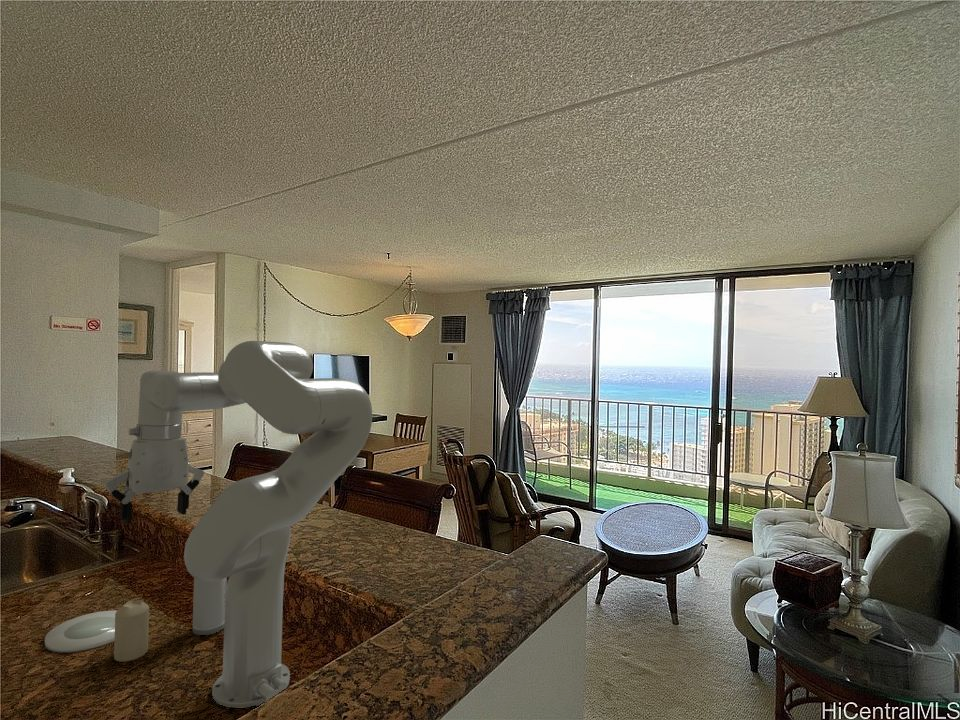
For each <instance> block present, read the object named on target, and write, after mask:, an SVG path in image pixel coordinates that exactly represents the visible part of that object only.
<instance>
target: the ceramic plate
mask: <svg viewBox="0 0 960 720" xmlns="http://www.w3.org/2000/svg"><path fill="white" fill-rule="evenodd" d="M117 611H118V610H115V609H114V610H101V611H95V612H92V613H87V614H83V615H80V616H76V617H74V618H72V619H71V618H70V619H69V620H66V621H64V622H62V623H60V624H58V625H56V626H54V627H53V628H52V629H50V630H49V631H48V632H47V633H46V635H45V637H44V646H45V648H46V649H47V650H49V651H51V652H54V653H77V652H83V651H88V650H92V649H96V648H99V647H102V646H105V645H108V644H110V643H112V642H114V637H115V613H116V612H117Z"/></svg>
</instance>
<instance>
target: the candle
mask: <svg viewBox="0 0 960 720" xmlns="http://www.w3.org/2000/svg"><path fill="white" fill-rule="evenodd" d="M116 611H117V612H116V613H115V637H114V641H113V642H114V643H113V645H114V646H113V659H114V660H115V661H116V662H120V663H121V662H123V663H125V662H130V661H134V660H138V659H139V657H140V658H141V657H143V656H145V655H146V654H147V652H148V649H149V626H150V625H149V624H150V606H149V605H148V604H146V602H144V601H142V600H140V599H136V600H128V601H127V602H126V603H125V604H123V605H122V606H121V607H120V608H119V609H118V610H116ZM145 653H146V654H145Z"/></svg>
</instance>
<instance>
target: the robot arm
mask: <svg viewBox="0 0 960 720" xmlns="http://www.w3.org/2000/svg"><path fill="white" fill-rule="evenodd" d="M313 370H314V363H313V359H312V357H311V356H310V353H308V351H307V350H306V349H305V348H303V347H302V346H299V345H298V344H294V343H292V342H284V341H283V342H281V341H279V342H278V341H266V340H247V341H243V342H240V343H238V344H236V345H235V346H233V348H231V350H229V352H228V353H227V355H226V357H225V360H224V361H223V362H222V363H221V365H220V366H219V369H218V372H217V371H216V372H208V371H207V372H206V371H205V372H203V371H202V372H201V371H200V372H197V371H196V372H178V371H173V370H149V371H145V372H143V373H142V374H141V377H140V379H139V395H138V396H139V397H138V416H137V418H138V419H137V424H136V426H135V427H133V428H131V427H130V428H129V429H128V436H135V437H136V439H133V440H132V444H131V446H130V450H129V456H128V461H127V466H126V470H124V471H121V473H118V474H117V475H115V476H113V477H111V478H109V479H107V480H105V482H104V486H105V488H106V489H107V491H108V492H109V494H110V495H111V496H112V497H113V498H114V499H116V501H117V500H118V501H119V502H120V503H119V505H120V507H119V519H120V520H122V522H124V523H125V524H126V525H130V524H131V523H132V520H133V519H132V515H133V503H132V502H131V500H132V499H134V497H135V496H136V495H137V494H147V493H155V492H163V491H169V490H176V489H179V490H180V491H179V492H178V494H177V507H176V511H177V512H178V513H179V514H181V515H183V516H184V515H186V514H187V509H189V507H190V495H191V494H192V493H193V491H194V490H195V489H196V488H197V487H198V486H199V484H200V482H201V480H202V478H203V477H204V475H205V471H204V470H202V469H200V468H197V467H195V466H192V465H189V454H188V453H189V451H188V443H187V440H186V438H185V437H182V430H183V429H182V428H183V427H182V426H183V424H182V423H183V413H184V412H193V411H195V412H196V411H205V410H207V411H208V410H219V409H225V408H230V407H234V406H238V405H243V404H246V405H248V406H249V407H251V408H252V410H254V411H255V412H256V413H257V414H258V415H259V416H261V418H262V419H263V420H265V421H266V422H267V423H268V424H269V425H271V426H272V428H274V429H276V430H277V431H279V432H282V433H284V434H288V435H303V434H311V435H310V436H309V437H307V438H306V439H305V440H304V441H302V442H301V443H300V444H299V445H298V446H297V447H296V448H294V450H293V451H292V453H291V454H290V455H289V457H288V458H287V459H286V460H285V461H284V463H282V465H279V467H278V468H276V469H274V470H271V471H268V472H265V473H262V474H258V475H253V476H250V477H246V478H242V479H240V480H237V481H235V482H233V483H232V484H231V485H228V486H227V487H225V488H224V489H223V491H221V493H220V494H219V495H218V496H217V498H216V499H215V500H214V501H213V503H212V504H211V505H210V507H208V509H207V511H206V512H204V514H203V515H202V517H200V519H199V521H198V522H197V523H196V524H195V526H194V527H193V529H192V530H191V532H190V533H189V535H188V538H187V539H186V543H185V546H184V552H183V553H184V554H183V556H184V558H183V559H184V564H185V568H186V569H187V572H188V574H190V576H192V577H193V579H194V578H196V579H198V580H200V581H204V582H214V581H218V580H221V579H224V578H226V577H227V578H228V580H227V586H226V593H225V614H224V628H223V649H222V650H223V654H222V674H221V675H220V676H219V677H218V678H217V679H216V680H215V682H214V683H213V686H212V688H211V689H212V690H211V692H212V693H211V696H213V697H212V700H213V699H214V700H215V701H216V702H217V703H218V704H220V705H223V706H226V707H236V708H237V707H238V708H240V707H250V706H254V705H256V707H259V706H261V705H260V704H262V703H263V702H265V701H267V700H269V699H270V698H272V697H273V696H275V695H276V694H278V693H279V692H281V691H282V690H284V689H285V690H286V689H287V687H288V686H289V684H290V680H291V679H290V678H291V675H290V674H291V672H290V669H289V667H288V666H286V664H285V663H282V648H283V647H282V644H283V643H282V642H283V641H282V640H283V615H284V614H283V605H284V603H283V602H284V588H285V587H284V584H285V583H284V582H285V581H284V580H285V569H286V562H287V556H288V553H289V549H290V544H291V539H292V538H291V535H292V528H291V527H292V526H293V525H296V524H297V523H298V522H300V521H301V520H303V519H304V518H305V517H306V516H307V515H308V514H309V513H310V512H311V510H312V509H313V508H314V507H315V506H316V504H317V503H318V502H319V501H320V500H321V498H322V497H323V496H324V495H325V494H326V493H327V491H329V489H330V488H331V486H333V484H334V483H335V481H336V480H338V478H339V477H340V476H341V475H342V473H344V471H345V470H346V469H347V468H348V467H349V466H350V465H351V464H352V462H353V461H354V460H355V459H356V458H357V457H358V455H359V454H360V452H361V450H362V449H363V448H364V446H365V445H366V442H367V440H368V438H369V436H370V432H371V429H372V424H373V407H372V402H371V399H370V397H369V394H368V392H367V391H366V390H365V388H364V387H362V386H361V384H359V383H357V382H355V381H353V380H350V379H345V378H339V377H338V378H337V377H336V378H335V377H334V378H332V377H329V378H328V377H326V378H325V377H324V378H311V376H312V374H313ZM312 433H313V434H312ZM189 473H190V474H193V476H192V479H190V480H189V477H190V475H189ZM124 481H125V486H126V488H125V489H124V490H123V491H122V492H121V491H119V489H118V488H117V485H118V484H119V483H122V482H124ZM285 690H284V691H285ZM214 700H213V701H214ZM215 701H214V702H215ZM217 703H216V704H217ZM218 704H217V705H218ZM262 705H263V704H262Z"/></svg>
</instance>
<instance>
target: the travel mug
mask: <svg viewBox="0 0 960 720" xmlns="http://www.w3.org/2000/svg"><path fill="white" fill-rule="evenodd" d="M227 579H228V577H226V578H224V579H221V580H218V581H214V582H204V581H200V580H198V579H196V578H194V577H193V601H192V602H193V606H192V607H193V608H192V633H193V634H194V635H196V636H200V635H206V636H210V634H211V635H214V633H215V634H217V633H219V632H221V631H222V630H224V614H225V593H226V587H227V583H228V580H227ZM220 630H221V631H220ZM216 632H217V633H216Z"/></svg>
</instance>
